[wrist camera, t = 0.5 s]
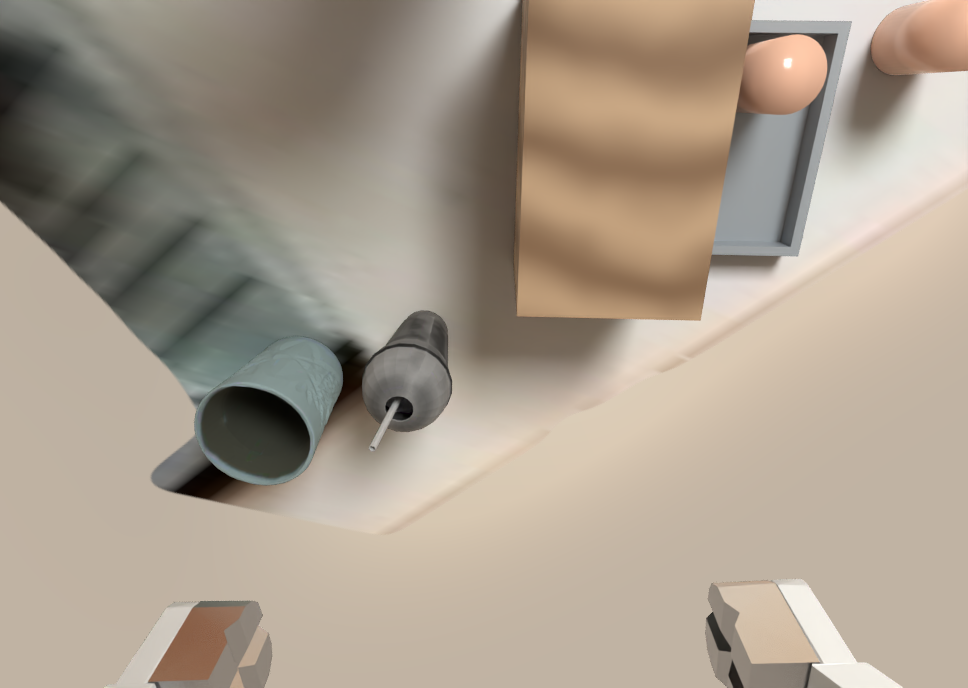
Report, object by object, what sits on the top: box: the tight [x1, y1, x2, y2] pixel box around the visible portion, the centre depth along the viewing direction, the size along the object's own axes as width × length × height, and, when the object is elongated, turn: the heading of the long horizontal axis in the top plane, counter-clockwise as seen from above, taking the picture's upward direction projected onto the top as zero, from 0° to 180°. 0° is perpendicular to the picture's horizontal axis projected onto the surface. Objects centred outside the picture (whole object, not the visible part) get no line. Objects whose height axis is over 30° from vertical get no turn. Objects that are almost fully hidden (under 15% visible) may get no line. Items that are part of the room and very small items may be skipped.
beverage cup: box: [362, 311, 452, 451], centre depth 48 cm, size 7×7×20 cm
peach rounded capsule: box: [871, 0, 968, 75], centre depth 42 cm, size 5×5×8 cm
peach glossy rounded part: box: [736, 34, 827, 115], centre depth 43 cm, size 5×5×8 cm
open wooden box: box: [513, 0, 755, 320], centre depth 43 cm, size 22×13×14 cm, turn 179°
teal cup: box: [194, 336, 343, 485], centre depth 54 cm, size 10×10×12 cm
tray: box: [712, 20, 852, 256], centre depth 48 cm, size 18×15×3 cm
